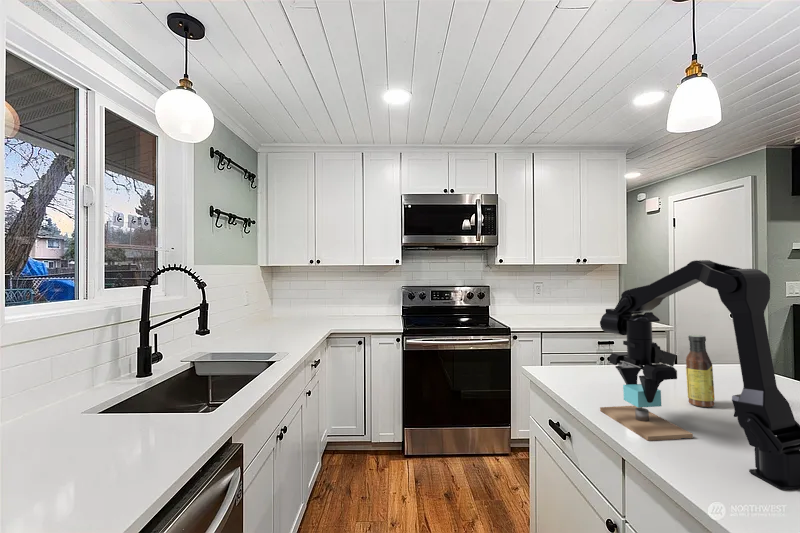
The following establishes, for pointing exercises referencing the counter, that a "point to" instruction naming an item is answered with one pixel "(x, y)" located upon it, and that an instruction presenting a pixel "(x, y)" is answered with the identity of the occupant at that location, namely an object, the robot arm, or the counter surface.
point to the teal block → (640, 396)
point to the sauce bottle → (699, 373)
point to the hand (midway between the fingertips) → (641, 398)
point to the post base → (645, 423)
